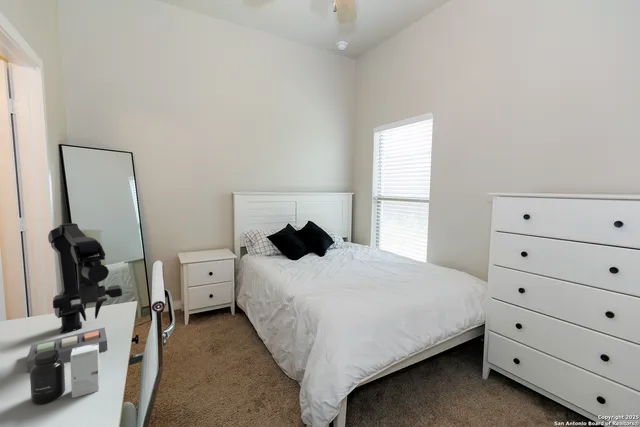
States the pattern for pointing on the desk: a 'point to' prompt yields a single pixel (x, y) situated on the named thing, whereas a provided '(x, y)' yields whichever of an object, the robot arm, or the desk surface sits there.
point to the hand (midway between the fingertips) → (90, 319)
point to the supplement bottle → (47, 378)
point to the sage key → (45, 347)
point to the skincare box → (85, 370)
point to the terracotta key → (91, 335)
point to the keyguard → (65, 351)
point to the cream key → (69, 341)
